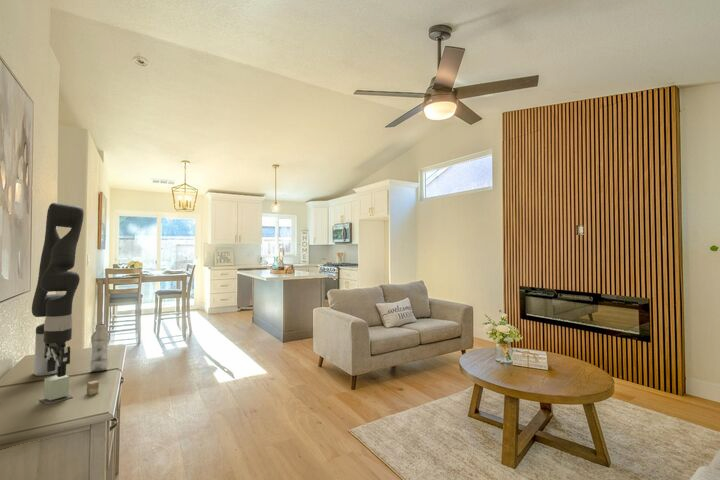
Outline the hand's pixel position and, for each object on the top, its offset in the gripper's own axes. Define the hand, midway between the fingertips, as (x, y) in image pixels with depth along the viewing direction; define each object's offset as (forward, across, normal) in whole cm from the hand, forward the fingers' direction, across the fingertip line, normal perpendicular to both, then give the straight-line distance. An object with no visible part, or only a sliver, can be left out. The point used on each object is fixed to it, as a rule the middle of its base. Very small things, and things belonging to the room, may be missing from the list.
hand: (56, 373), depth 123 cm
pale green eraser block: (+8, 0, 0) cm, 8 cm away
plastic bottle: (+9, -20, +22) cm, 31 cm away
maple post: (+9, +5, +9) cm, 14 cm away
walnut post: (+9, 0, 0) cm, 9 cm away
